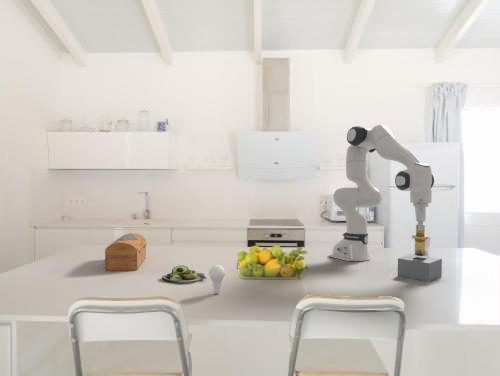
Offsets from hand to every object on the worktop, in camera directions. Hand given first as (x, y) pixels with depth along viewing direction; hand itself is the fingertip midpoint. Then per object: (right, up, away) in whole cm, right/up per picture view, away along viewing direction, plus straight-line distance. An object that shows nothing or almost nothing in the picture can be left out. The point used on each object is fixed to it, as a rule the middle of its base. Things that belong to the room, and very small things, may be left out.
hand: (420, 229), depth 179 cm
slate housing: (0, -21, +1) cm, 21 cm away
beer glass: (+9, -21, +17) cm, 29 cm away
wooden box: (-140, -20, +23) cm, 143 cm away
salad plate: (-106, -22, -5) cm, 108 cm away
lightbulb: (-90, -22, -28) cm, 96 cm away
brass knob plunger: (0, -12, 0) cm, 12 cm away
